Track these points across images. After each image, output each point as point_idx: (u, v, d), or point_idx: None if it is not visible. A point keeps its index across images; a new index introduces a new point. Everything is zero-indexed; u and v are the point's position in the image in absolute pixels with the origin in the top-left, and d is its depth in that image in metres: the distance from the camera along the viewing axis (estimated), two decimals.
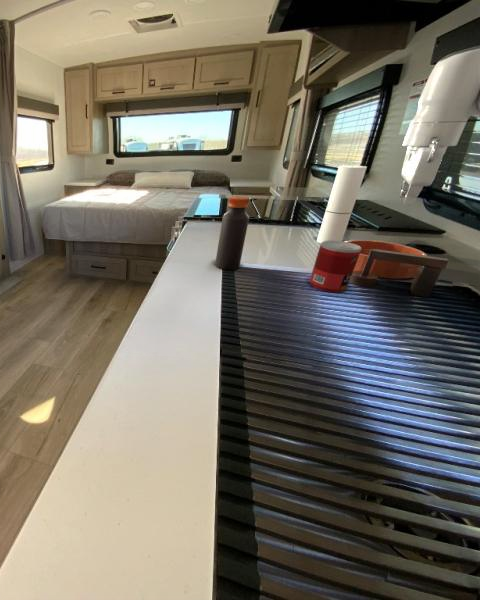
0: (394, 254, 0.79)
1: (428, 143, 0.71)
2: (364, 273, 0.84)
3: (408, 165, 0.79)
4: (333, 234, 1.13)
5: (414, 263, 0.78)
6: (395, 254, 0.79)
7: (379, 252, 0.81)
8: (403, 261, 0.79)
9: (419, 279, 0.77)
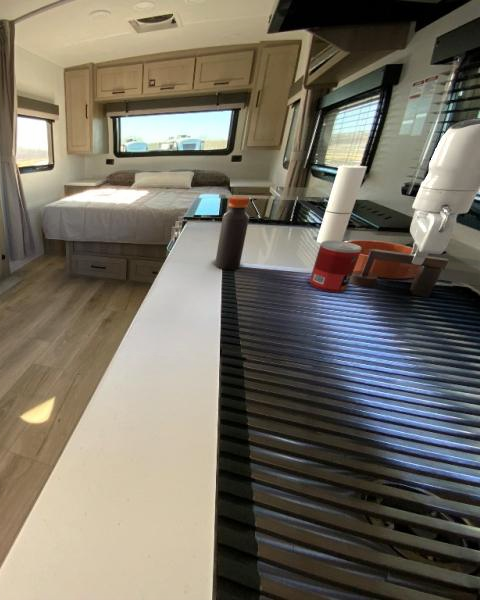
0: (394, 254, 0.79)
1: (439, 210, 0.70)
2: (364, 273, 0.84)
3: (417, 226, 0.77)
4: (333, 234, 1.13)
5: None
6: (395, 254, 0.79)
7: (379, 252, 0.81)
8: (403, 261, 0.79)
9: (419, 279, 0.77)
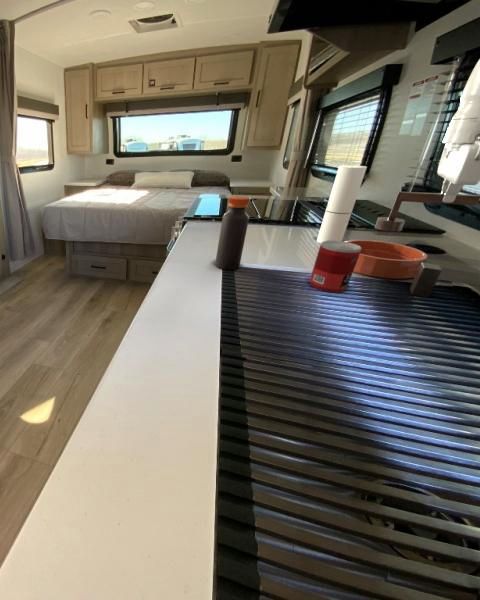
0: (423, 194, 0.77)
1: (473, 140, 0.68)
2: (391, 217, 0.82)
3: (448, 163, 0.75)
4: (333, 234, 1.13)
5: (444, 202, 0.76)
6: (424, 194, 0.77)
7: (407, 193, 0.79)
8: (433, 201, 0.77)
9: (419, 279, 0.77)
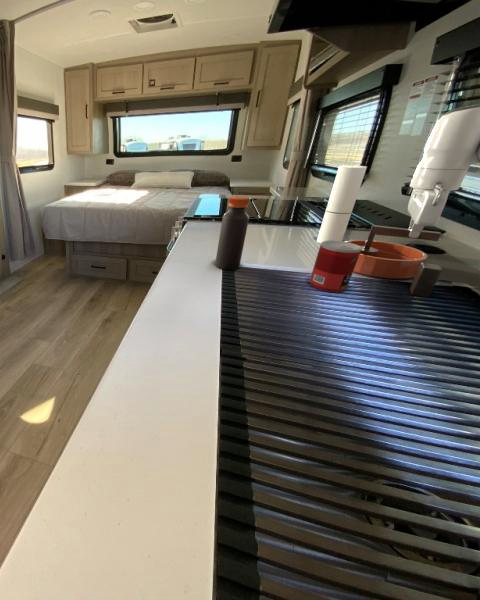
0: (393, 229, 0.89)
1: (433, 187, 0.79)
2: (366, 247, 0.94)
3: (414, 203, 0.87)
4: (333, 234, 1.13)
5: None
6: (394, 229, 0.89)
7: (379, 227, 0.90)
8: (401, 235, 0.88)
9: (419, 279, 0.77)
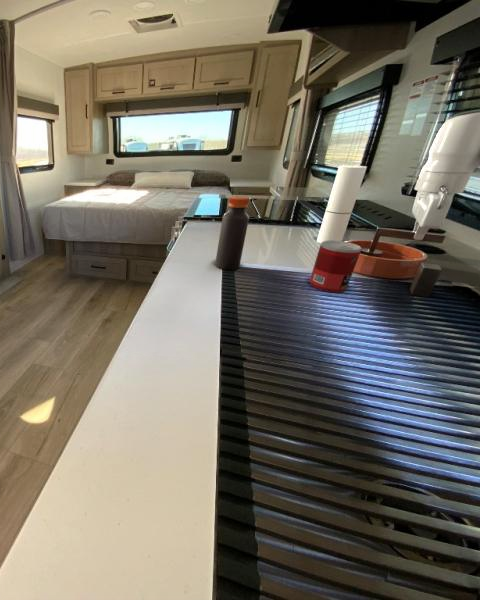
0: (398, 231, 0.90)
1: (438, 190, 0.80)
2: (371, 249, 0.95)
3: (419, 206, 0.88)
4: (333, 234, 1.13)
5: None
6: (399, 231, 0.90)
7: (384, 230, 0.91)
8: (406, 237, 0.89)
9: (419, 279, 0.77)
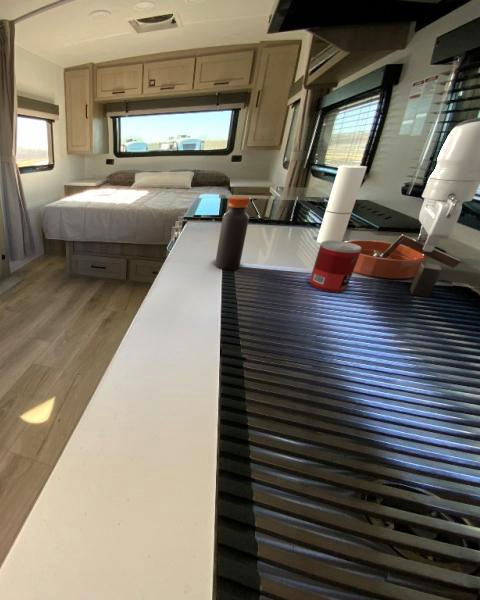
0: (420, 244, 0.87)
1: (446, 198, 0.79)
2: (385, 254, 0.92)
3: (426, 213, 0.86)
4: (333, 234, 1.13)
5: (432, 256, 0.86)
6: (421, 244, 0.87)
7: (408, 239, 0.88)
8: (424, 252, 0.87)
9: (419, 279, 0.77)
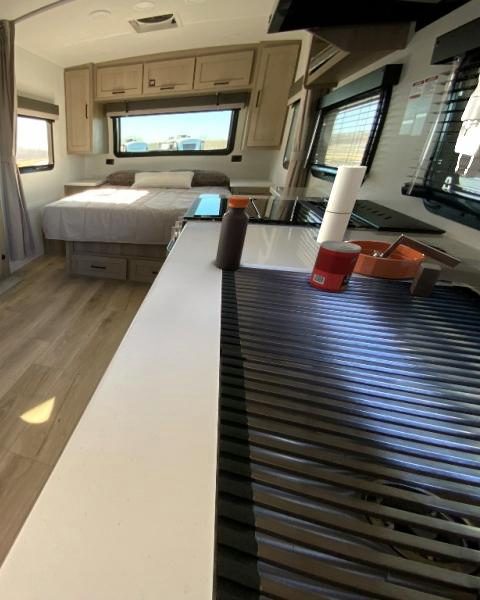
0: (420, 244, 0.87)
1: None
2: (385, 254, 0.92)
3: (466, 140, 0.80)
4: (333, 234, 1.13)
5: (432, 256, 0.86)
6: (421, 244, 0.87)
7: (408, 239, 0.88)
8: (424, 252, 0.87)
9: (419, 279, 0.77)
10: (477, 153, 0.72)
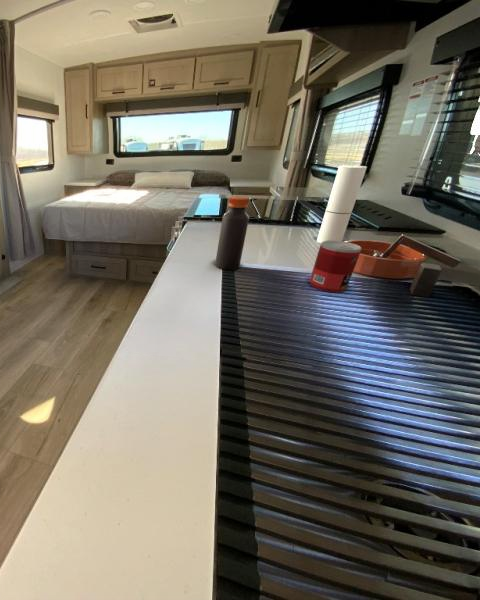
0: (420, 244, 0.87)
1: None
2: (385, 254, 0.92)
3: None
4: (333, 234, 1.13)
5: (432, 256, 0.86)
6: (421, 244, 0.87)
7: (408, 239, 0.88)
8: (424, 252, 0.87)
9: (419, 279, 0.77)
10: None
